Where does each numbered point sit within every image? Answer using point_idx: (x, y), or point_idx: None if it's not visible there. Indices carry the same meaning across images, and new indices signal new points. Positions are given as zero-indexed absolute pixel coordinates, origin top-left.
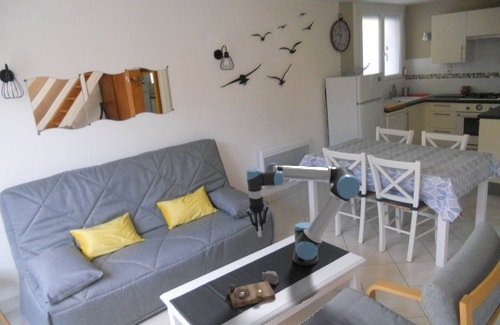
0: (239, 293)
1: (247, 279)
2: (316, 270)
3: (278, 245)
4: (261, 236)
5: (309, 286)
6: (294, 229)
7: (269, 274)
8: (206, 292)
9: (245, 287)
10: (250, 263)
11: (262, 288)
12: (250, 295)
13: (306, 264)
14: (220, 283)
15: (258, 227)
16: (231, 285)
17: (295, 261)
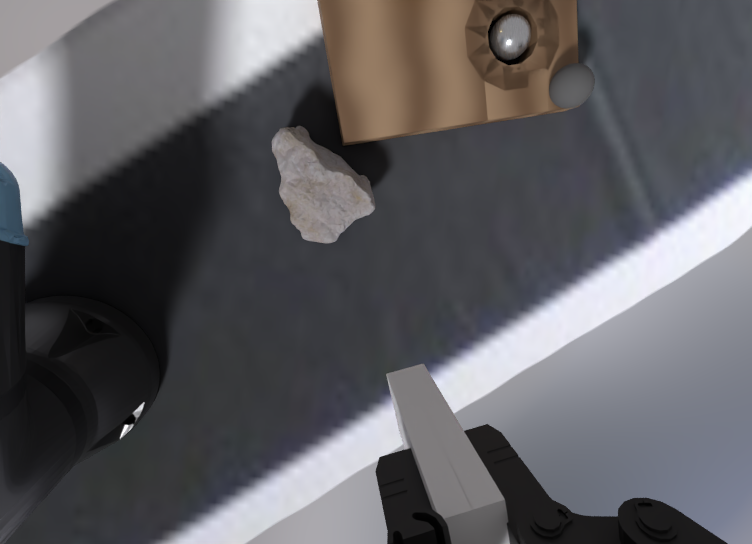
0: (529, 35)
1: (449, 223)
2: None
3: (235, 531)
4: (391, 374)
5: (77, 61)
6: None
7: (327, 166)
8: (665, 149)
9: (484, 100)
10: None
11: (386, 61)
12: (467, 3)
13: (68, 298)
14: (589, 216)
15: (489, 480)
16: (587, 72)
17: (141, 340)
